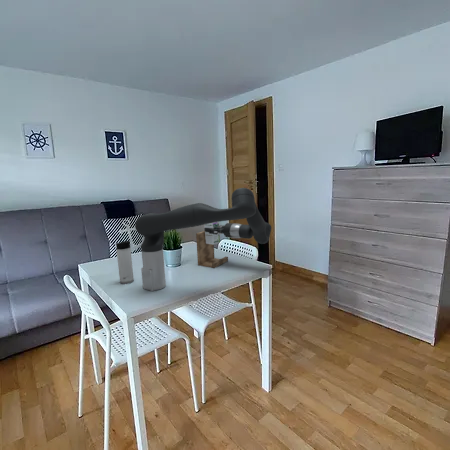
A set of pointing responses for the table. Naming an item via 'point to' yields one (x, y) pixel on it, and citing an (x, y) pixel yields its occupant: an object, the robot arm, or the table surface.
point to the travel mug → (125, 262)
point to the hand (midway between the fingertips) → (208, 228)
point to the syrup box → (212, 237)
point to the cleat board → (207, 253)
